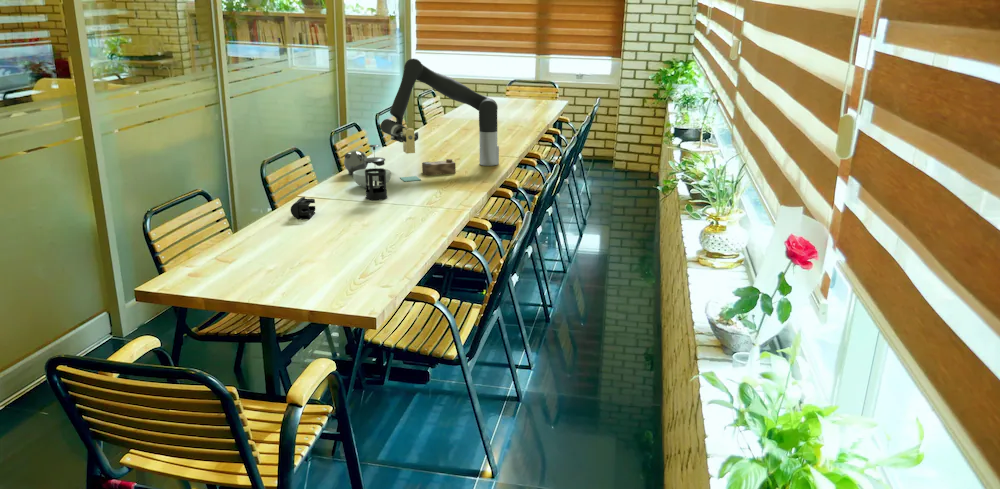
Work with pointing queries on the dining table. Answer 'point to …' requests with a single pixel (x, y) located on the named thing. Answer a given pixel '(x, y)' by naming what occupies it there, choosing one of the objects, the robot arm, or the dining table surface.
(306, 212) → the end cap
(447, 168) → the body
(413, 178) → the mat
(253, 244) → the dining table surface
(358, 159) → the piggy bank
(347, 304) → the dining table surface
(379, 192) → the french press
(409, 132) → the brushed brass block
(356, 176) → the cereal bowl
